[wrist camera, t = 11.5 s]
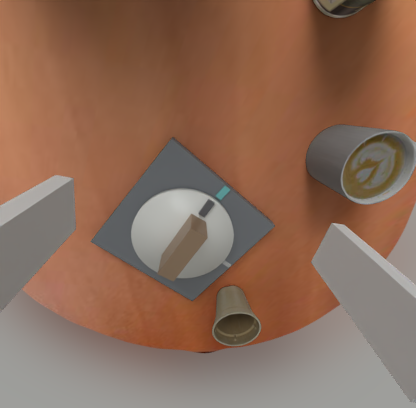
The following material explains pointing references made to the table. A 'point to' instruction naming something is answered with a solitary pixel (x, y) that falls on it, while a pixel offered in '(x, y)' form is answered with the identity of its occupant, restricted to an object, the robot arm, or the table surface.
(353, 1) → the coffee can
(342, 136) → the coffee mug
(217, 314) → the flower pot
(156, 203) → the dial
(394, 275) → the robot arm
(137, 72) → the table surface
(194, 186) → the base plate
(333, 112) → the table surface
